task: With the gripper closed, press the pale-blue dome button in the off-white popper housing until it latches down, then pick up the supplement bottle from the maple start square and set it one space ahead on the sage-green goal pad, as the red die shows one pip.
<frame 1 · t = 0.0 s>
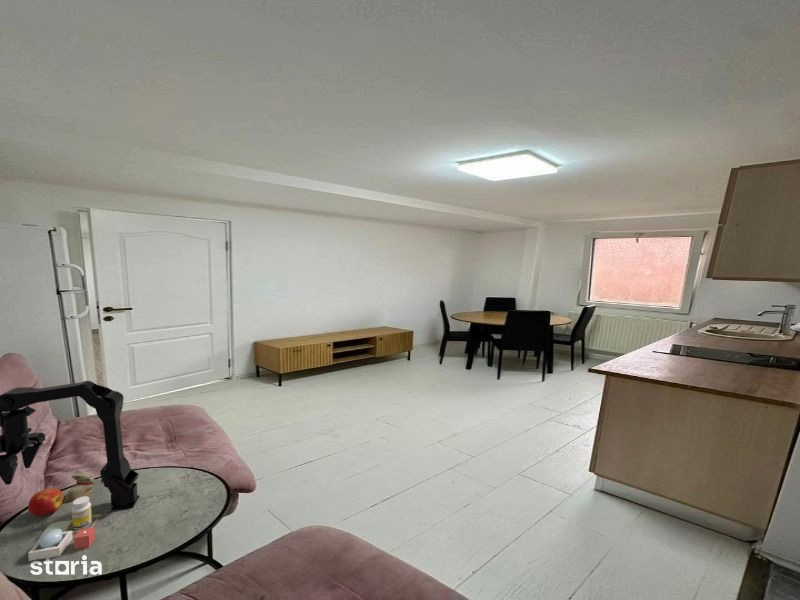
hand: (18, 475, 118), 15 cm above the table, fingers open, 9 cm apart
start square: (82, 524, 118), on the table
popper housing: (51, 549, 108), on the table
goal pad: (57, 528, 116), on the table
dome: (51, 539, 107), point 3 cm above the table, slide at 0.0 cm
apple: (46, 514, 122), on the table
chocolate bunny: (80, 496, 132), on the table
red die: (85, 543, 110), on the table
supplement bottle: (82, 525, 118), on the table
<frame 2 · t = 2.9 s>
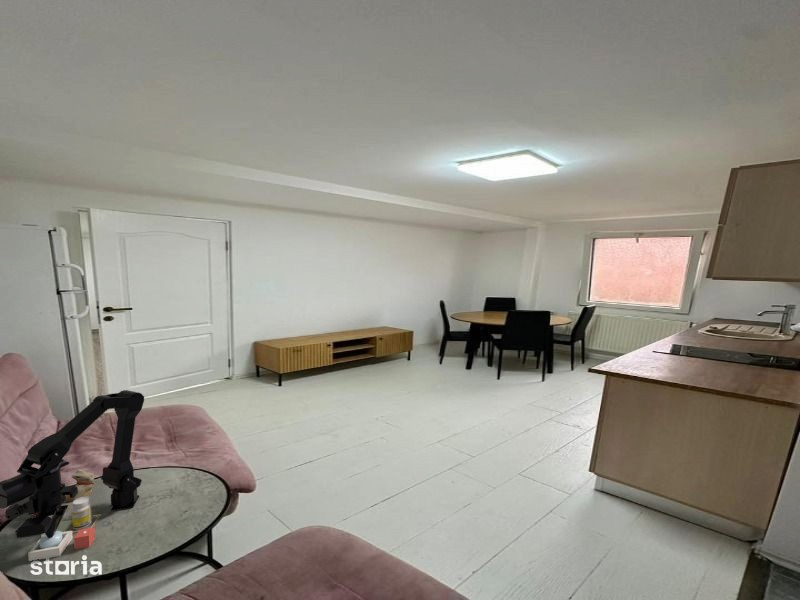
hand: (51, 536, 107), 4 cm above the table, fingers closed, pressing on dome
dome: (51, 541, 108), point 2 cm above the table, slide at 0.7 cm, touching gripper
everything else where it was.
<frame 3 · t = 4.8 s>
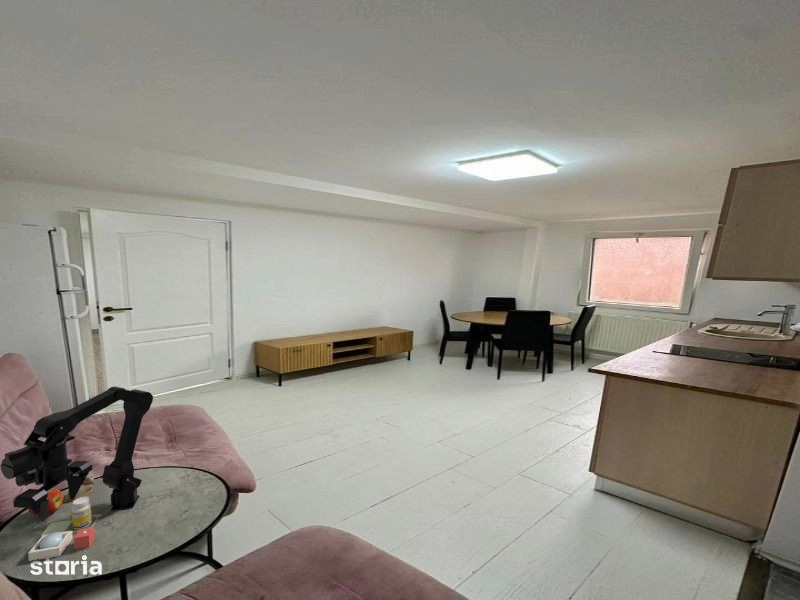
hand: (58, 509, 109), 11 cm above the table, fingers open, 9 cm apart
dome: (51, 543, 108), point 2 cm above the table, slide at 1.2 cm
everything else where it was.
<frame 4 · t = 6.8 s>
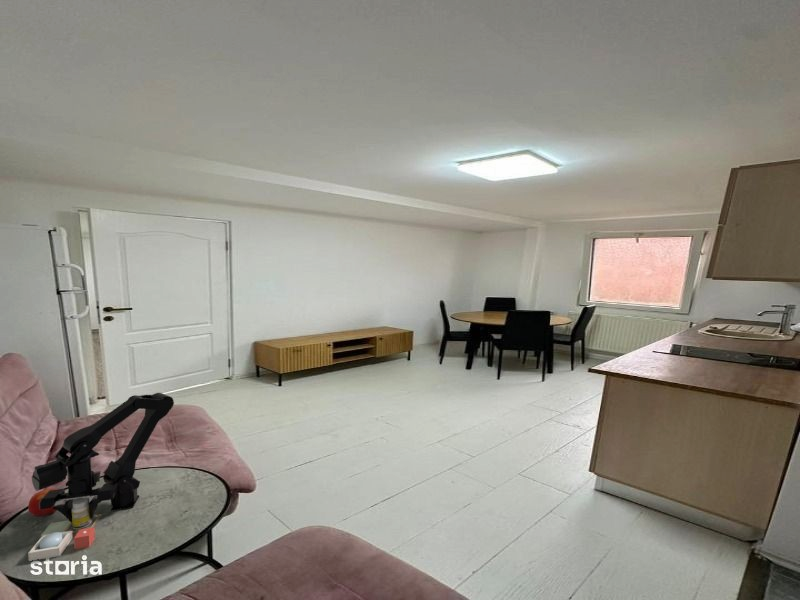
hand: (82, 519, 118), 2 cm above the table, fingers closed on supplement bottle, 5 cm apart
supplement bottle: (82, 525, 118), on the table, touching gripper
everything else where it was.
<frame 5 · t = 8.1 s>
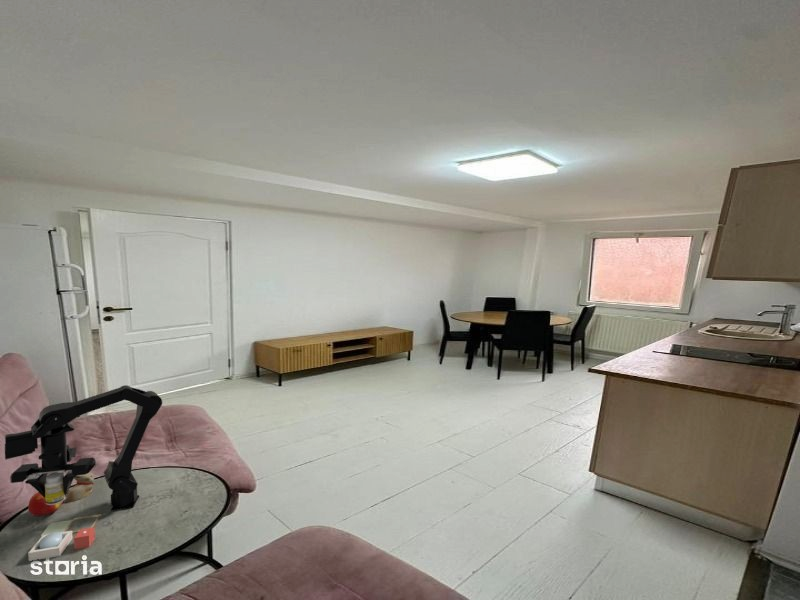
hand: (56, 495, 114), 11 cm above the table, fingers closed on supplement bottle, 5 cm apart
supplement bottle: (56, 501, 115), point 9 cm above the table, touching gripper
everything else where it was.
when the fingers open (3 cm above the table, at t = 9.9 s): supplement bottle drops 1 cm, resting on goal pad.
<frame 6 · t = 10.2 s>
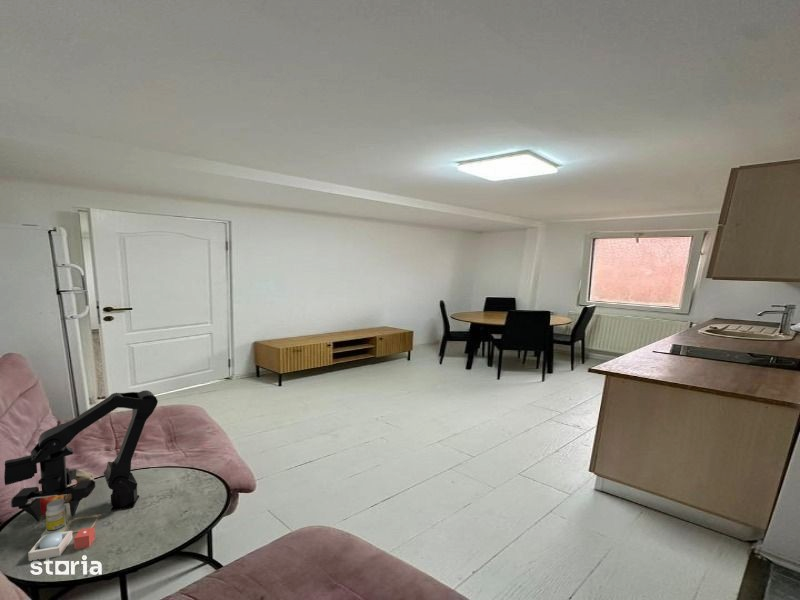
hand: (56, 518, 115), 3 cm above the table, fingers open, 8 cm apart
supplement bottle: (57, 528, 116), resting on goal pad
everything else where it was.
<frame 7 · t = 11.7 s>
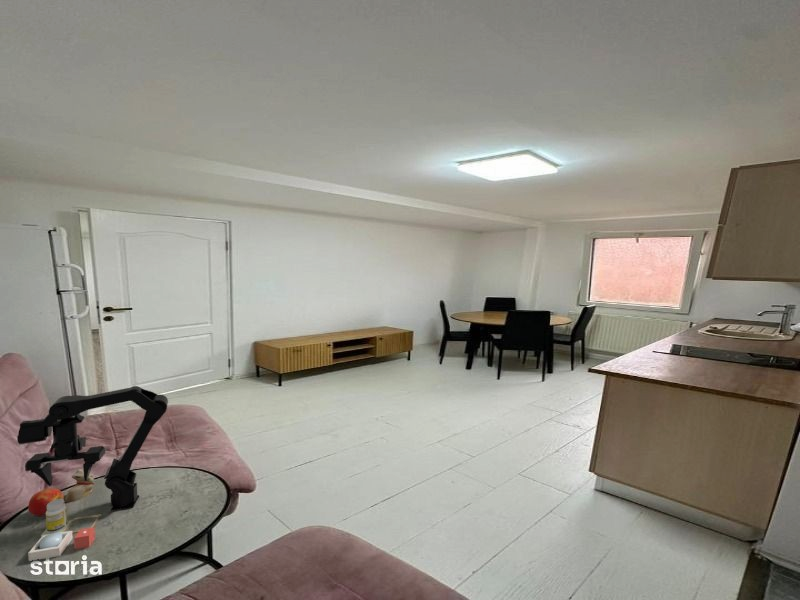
hand: (68, 482, 120), 12 cm above the table, fingers open, 9 cm apart
nothing on the table moved.
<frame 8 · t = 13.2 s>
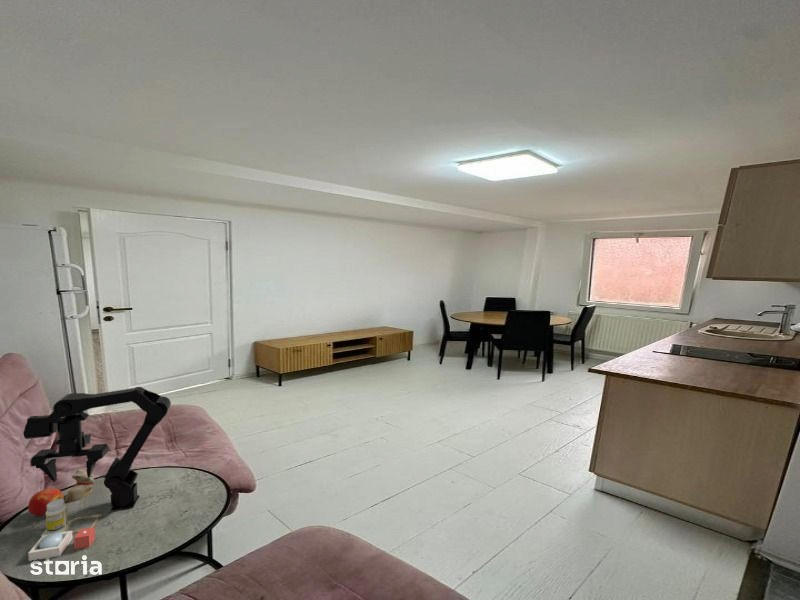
hand: (72, 478, 122), 12 cm above the table, fingers open, 9 cm apart
nothing on the table moved.
at the end: dome slide at 1.2 cm; supplement bottle 0.0 cm from the target spot, resting on goal pad; supplement bottle tilted 0° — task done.
